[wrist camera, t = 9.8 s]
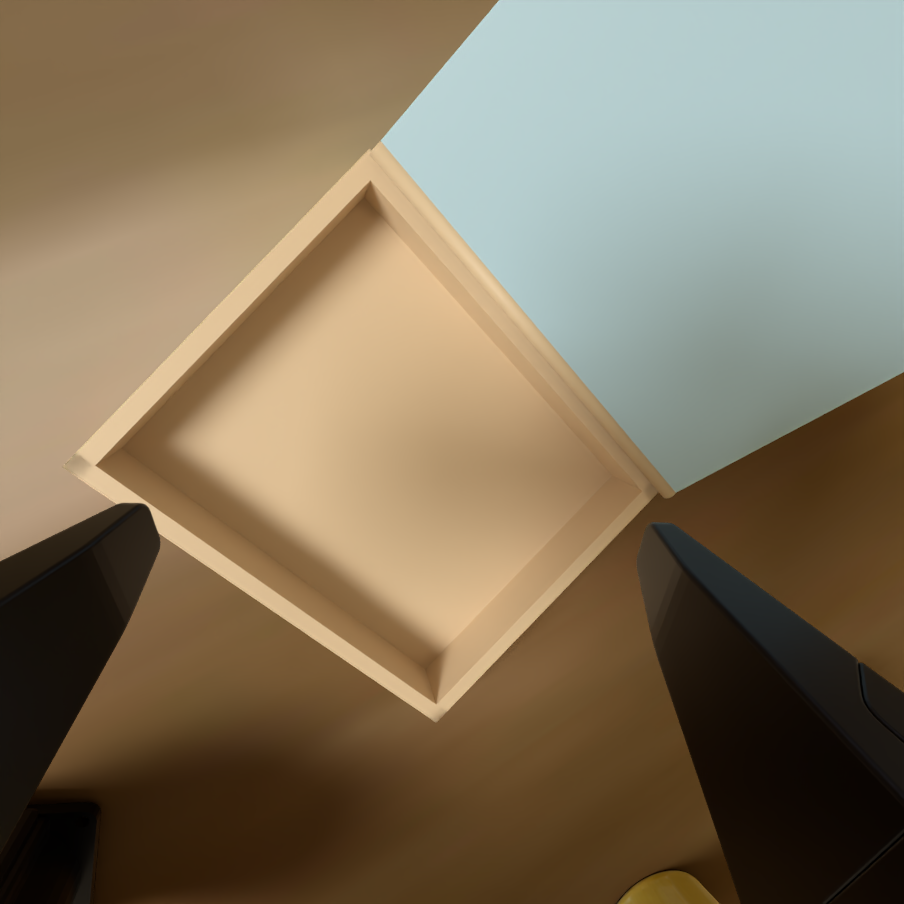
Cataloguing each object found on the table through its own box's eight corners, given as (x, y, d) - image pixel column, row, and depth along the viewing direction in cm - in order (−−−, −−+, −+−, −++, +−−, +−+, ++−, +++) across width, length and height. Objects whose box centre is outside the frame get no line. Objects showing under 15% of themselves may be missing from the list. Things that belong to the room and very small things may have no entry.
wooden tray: (423, 681, 23) (436, 722, 20) (96, 447, 17) (62, 467, 15) (625, 472, 23) (660, 489, 20) (362, 172, 17) (369, 148, 15)
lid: (1066, 288, 14) (1048, 282, 15) (833, -398, 9) (815, -370, 9) (664, 500, 20) (660, 491, 20) (367, 155, 14) (372, 154, 15)
